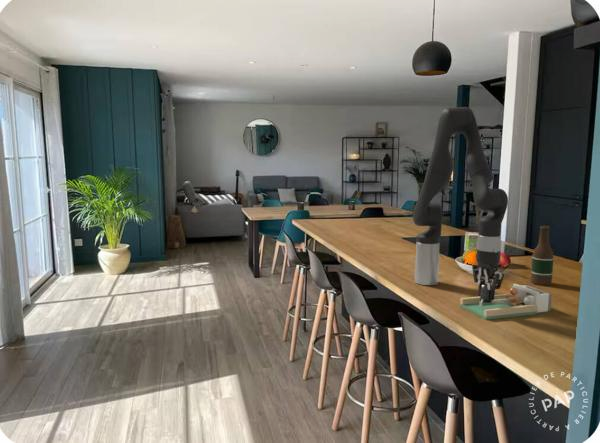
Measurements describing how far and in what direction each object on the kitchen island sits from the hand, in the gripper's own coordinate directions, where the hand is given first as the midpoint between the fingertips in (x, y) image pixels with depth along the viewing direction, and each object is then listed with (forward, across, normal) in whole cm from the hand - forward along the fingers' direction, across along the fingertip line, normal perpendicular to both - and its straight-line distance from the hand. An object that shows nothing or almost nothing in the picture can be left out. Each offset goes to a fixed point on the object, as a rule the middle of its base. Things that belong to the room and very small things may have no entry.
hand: (486, 298), depth 160 cm
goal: (+5, 0, +18) cm, 19 cm away
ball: (+3, 0, +18) cm, 18 cm away
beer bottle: (+5, -24, +45) cm, 51 cm away
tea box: (+5, -63, +45) cm, 78 cm away
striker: (+3, 0, +5) cm, 6 cm away
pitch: (+5, 0, +5) cm, 7 cm away
